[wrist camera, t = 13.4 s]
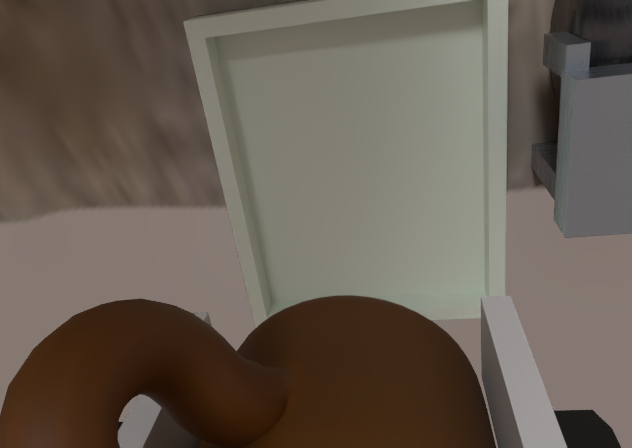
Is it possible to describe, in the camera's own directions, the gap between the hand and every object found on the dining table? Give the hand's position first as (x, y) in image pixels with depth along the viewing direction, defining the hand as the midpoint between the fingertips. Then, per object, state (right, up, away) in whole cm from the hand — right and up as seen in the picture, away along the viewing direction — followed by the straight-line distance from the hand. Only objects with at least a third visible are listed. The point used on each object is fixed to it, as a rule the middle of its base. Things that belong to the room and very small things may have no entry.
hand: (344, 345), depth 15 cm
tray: (+1, +6, +12) cm, 14 cm away
